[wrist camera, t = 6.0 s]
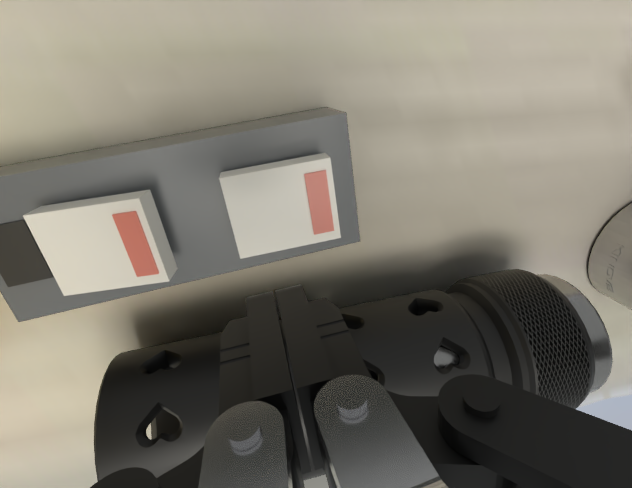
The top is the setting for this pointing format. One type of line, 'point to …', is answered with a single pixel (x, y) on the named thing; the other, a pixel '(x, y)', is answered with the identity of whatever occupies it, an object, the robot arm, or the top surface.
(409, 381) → the muzzle brake
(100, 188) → the switch strip
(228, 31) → the top surface
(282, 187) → the rocker
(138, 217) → the rocker
